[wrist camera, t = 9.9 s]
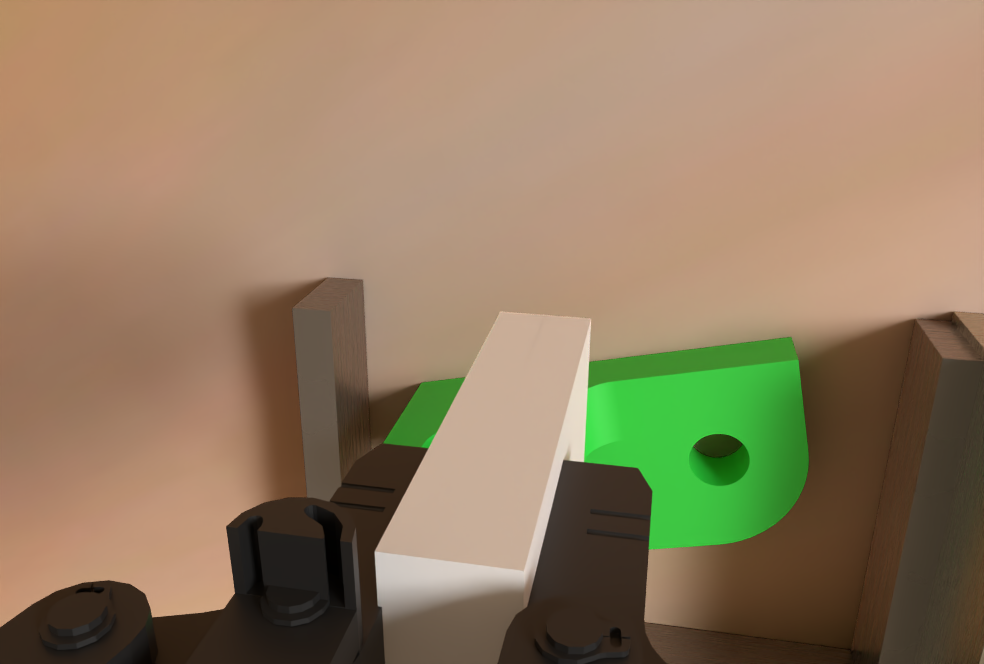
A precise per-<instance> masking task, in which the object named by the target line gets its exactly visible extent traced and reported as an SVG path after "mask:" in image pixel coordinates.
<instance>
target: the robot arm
mask: <svg viewBox="0 0 984 664" xmlns="http://www.w3.org/2000/svg"><path fill="white" fill-rule="evenodd" d="M590 331H591V318H579V317H566V316H554V315H541V314H528V313H515V312H502V311H500V313H499V315H498V317H497V319H496V321H495V323H494V325H493V326H492V328H491V330H490V332H489V334H488V336H487V338H486V340H485V342H484V344H483V346H482V347H481V349H480V351H479V353H478V355H477V357H476V359H475V361H474V363H473V365H472V367H471V368H470V370H469V372H468V374H467V376H466V378H465V380H464V382H463V384H462V386H461V388H460V389H459V391H458V393H457V395H456V397H455V399H454V401H453V403H452V405H451V407H450V409H449V410H448V412H447V414H446V416H445V418H444V420H443V422H442V424H441V426H440V428H439V430H438V431H437V433H436V435H435V437H434V439H433V441H432V443H431V445H430V447H429V448H422V447H413V446H404V445H394V444H385V443H382V444H381V445H379V446H377V447H376V448H374V449H373V450H371V451H370V452H368V453H367V454H365V455H364V456H362V457H361V458H359V459H358V460H356V461H355V463H354V464H353V466H352V467H351V469H350V470H349V472H348V473H347V475H346V476H345V478H344V480H343V481H342V483H341V487H338V489H337V490H336V492H335V493H334V495H333V496H332V498H331V499H330V502H329V501H325V500H321V499H317V498H284V499H280V500H275V501H270V502H266V503H263V504H260V505H258V506H256V507H254V508H252V509H249V510H247V511H245V512H243V513H241V514H240V515H239V516H238V517H237V518H236V519H234V520H233V521H232V522H231V523H230V524H229V525H227V526H226V529H227V536H228V544H229V551H230V559H231V566H232V573H233V581H234V588H235V594H234V595H233V597H232V598H231V600H230V601H229V603H228V604H227V605H226V607H225V608H224V609H222V610H216V611H210V612H204V613H195V614H185V615H174V616H164V617H153V618H152V615H151V609H150V606H149V603H148V601H147V598H146V595H145V594H144V593H143V592H141V591H140V590H138V589H137V588H135V587H134V586H132V585H131V584H126V583H120V582H115V581H109V580H108V581H97V582H86V583H81V584H78V585H74V586H71V587H68V588H65V589H62V590H58V591H56V592H54V593H52V594H50V595H49V596H47V597H45V598H43V599H41V600H40V601H38V602H36V603H34V604H32V605H31V606H30V607H28V608H27V609H25V610H24V611H23V612H21V613H20V614H18V615H17V616H16V617H14V618H13V619H11V620H10V621H9V622H7V623H6V624H4V625H3V626H2V627H0V664H667V663H666V662H665V661H664V660H663V659H662V658H661V657H660V656H659V654H658V653H657V652H656V651H655V650H654V648H653V647H652V645H651V643H650V641H649V639H648V637H647V635H646V632H645V623H644V612H645V597H646V582H647V567H648V552H649V537H650V522H651V507H652V492H653V491H652V489H651V488H650V486H649V485H648V483H647V481H646V480H645V478H644V477H643V475H642V473H641V472H640V470H639V469H638V468H634V467H625V466H616V465H606V464H597V463H587V462H584V451H585V431H586V411H587V391H588V371H589V351H590Z"/></svg>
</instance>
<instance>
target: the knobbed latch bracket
mask: <svg viewBox="0 0 984 664" xmlns="http://www.w3.org/2000/svg"><path fill="white" fill-rule="evenodd" d="M292 312H293V324H294V337H295V350H296V362H297V375H298V388H299V400H300V413H301V426H302V439H303V451H304V464H305V477H306V489H307V498H317V499H321V500H325V501H329V502H330V499H331V498H332V496H333V495H334V493H335V492H336V490H337V489H338V487H341V483H342V481H343V480H344V478H345V476H346V475H347V473H348V472H349V470H350V469H351V467H352V466H353V464H354V463H355V461H356V460H358V459H359V458H361V457H362V456H364V455H365V454H367V453H368V452H370V451H371V441H370V420H369V399H368V378H367V357H366V336H365V315H364V294H363V280H355V279H341V278H327V279H326V280H325V281H323V282H322V283H321V284H320V285H319V286H318V287H316V288H315V289H314V290H313V291H312V292H311V293H309V294H308V295H307V296H306V297H305V298H304V299H302V300H301V301H300V302H299V303H298V304H297V305H295V306H294V307H293V308H292ZM645 632H646V635H647V637H648V639H649V641H650V643H651V645H652V647H653V648H654V650H655V651H656V652H657V653H658V654H659V656H660V657H661V658H662V659H663V660H664V661H665V662H666V663H667V664H984V314H979V313H965V312H954V313H953V318H952V321H939V320H925V319H915V323H914V329H913V334H912V339H911V344H910V349H909V354H908V359H907V364H906V370H905V375H904V380H903V385H902V390H901V395H900V400H899V406H898V411H897V416H896V421H895V426H894V431H893V436H892V441H891V447H890V452H889V457H888V462H887V467H886V472H885V477H884V483H883V488H882V493H881V498H880V503H879V508H878V513H877V518H876V524H875V529H874V534H873V539H872V544H871V549H870V554H869V560H868V565H867V570H866V575H865V580H864V585H863V590H862V595H861V601H860V606H859V611H858V616H857V621H856V626H855V631H854V637H853V642H852V647H851V650H848V649H840V648H832V647H825V646H817V645H810V644H802V643H795V642H787V641H779V640H772V639H764V638H757V637H749V636H742V635H734V634H726V633H719V632H711V631H704V630H696V629H689V628H681V627H673V626H666V625H658V624H651V623H645Z"/></svg>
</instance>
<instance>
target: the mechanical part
mask: <svg viewBox="0 0 984 664" xmlns="http://www.w3.org/2000/svg"><path fill="white" fill-rule="evenodd" d="M465 378H466V377H463V378H455V379H447V380H439V381H431V382H423V383H421V384H420V386H419V388H418V389H417V391H416V392H415V394H414V395H413V397H412V398H411V400H410V402H409V403H408V405H407V406H406V408H405V409H404V411H403V413H402V414H401V416H400V417H399V419H398V420H397V422H396V424H395V425H394V427H393V428H392V430H391V431H390V433H389V435H388V436H387V438H386V439H385V441H384V442H383V443H385V444H394V445H404V446H413V447H422V448H429V447H430V445H431V443H432V441H433V439H434V437H435V435H436V433H437V431H438V430H439V428H440V426H441V424H442V422H443V420H444V418H445V416H446V414H447V412H448V410H449V409H450V407H451V405H452V403H453V401H454V399H455V397H456V395H457V393H458V391H459V389H460V388H461V386H462V384H463V382H464V380H465ZM712 434H725V435H729V436H732V437H734V438H736V439H738V440H739V441H740V442H742V443H743V444H742V446H741V447H740V448H739V449H738V450H737V451H736V452H734V453H733V454H731V455H729V456H725V457H719V458H715V457H709V456H706V455H703V454H701V453H700V452H698V451H697V450H696V449H695V448H694V447H693V446H694V444H695V443H696V442H697V441H699V440H700V439H701V438H703V437H705V436H708V435H712ZM584 462H587V463H597V464H606V465H616V466H625V467H634V468H638V469H639V470H640V472H641V473H642V475H643V477H644V478H645V480H646V481H647V483H648V485H649V486H650V488H651V489H652V491H653V492H652V507H651V522H650V537H649V549H663V548H677V547H692V546H706V545H720V544H728V543H733V542H738V541H742V540H745V539H748V538H751V537H753V536H756V535H758V534H760V533H762V532H764V531H766V530H767V529H769V528H770V527H772V526H773V525H775V524H776V523H777V522H778V521H780V520H781V519H782V518H783V517H784V516H785V515H786V514H787V513H788V512H789V511H790V509H791V508H792V507H793V506H794V504H795V503H796V501H797V500H798V498H799V496H800V494H801V492H802V490H803V488H804V485H805V482H806V479H807V474H808V466H809V453H808V443H807V434H806V425H805V416H804V407H803V397H802V388H801V379H800V370H799V361H798V357H797V354H796V351H795V347H794V344H793V341H792V338H791V337H787V338H779V339H771V340H763V341H755V342H747V343H739V344H730V345H722V346H714V347H706V348H698V349H690V350H682V351H674V352H666V353H658V354H649V355H641V356H633V357H625V358H617V359H609V360H601V361H593V362H589V371H588V391H587V411H586V431H585V451H584Z"/></svg>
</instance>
